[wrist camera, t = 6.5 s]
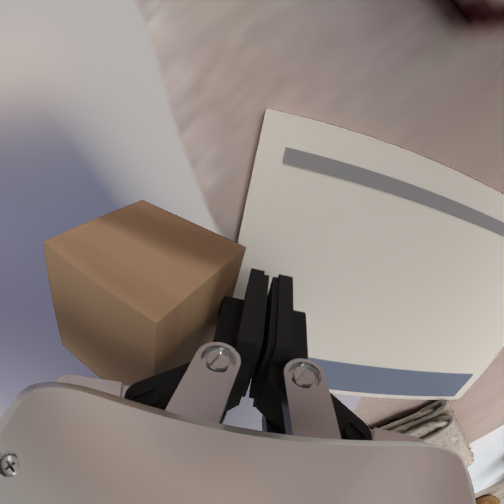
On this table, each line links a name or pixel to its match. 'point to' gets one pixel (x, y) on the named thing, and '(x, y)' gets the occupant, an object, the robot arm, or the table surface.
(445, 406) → the washcloth
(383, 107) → the table surface
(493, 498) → the bread roll
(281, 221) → the letter sheet
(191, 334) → the walnut block
